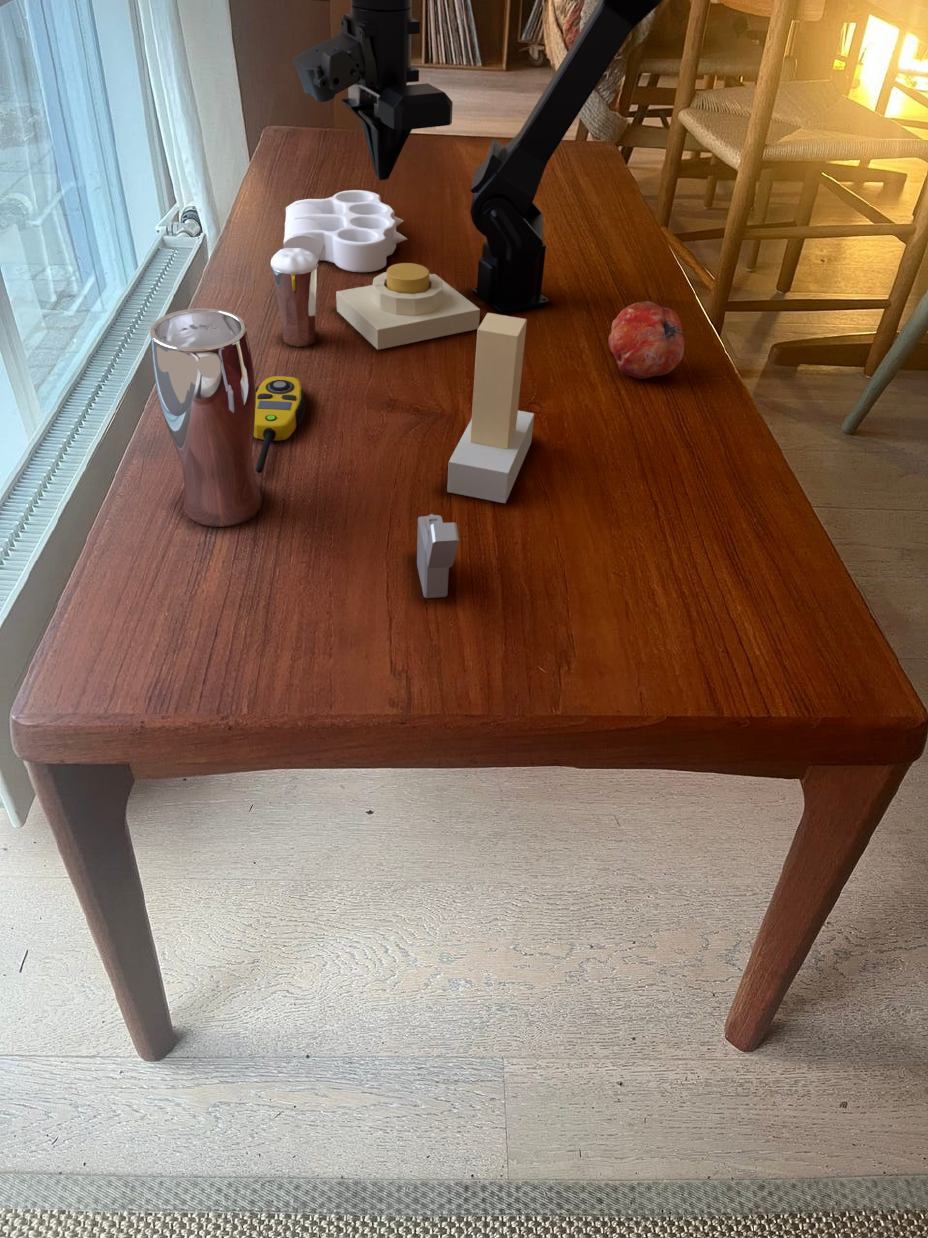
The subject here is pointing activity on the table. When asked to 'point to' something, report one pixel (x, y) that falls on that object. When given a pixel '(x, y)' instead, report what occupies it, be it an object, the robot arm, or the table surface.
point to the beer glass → (209, 410)
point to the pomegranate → (646, 340)
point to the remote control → (277, 411)
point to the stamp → (494, 415)
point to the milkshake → (296, 294)
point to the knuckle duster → (344, 229)
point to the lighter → (435, 554)
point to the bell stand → (406, 312)
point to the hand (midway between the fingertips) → (382, 178)
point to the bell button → (407, 278)
